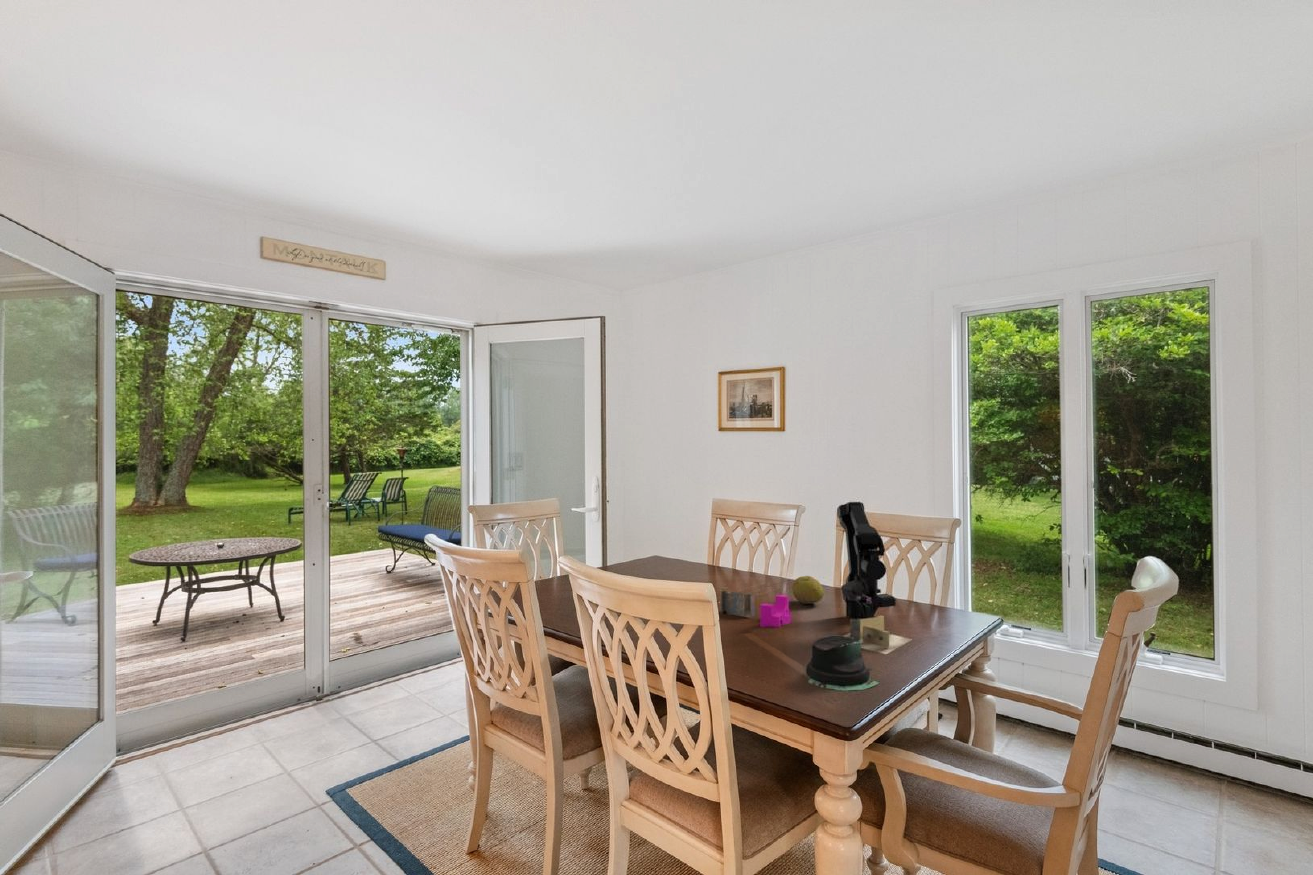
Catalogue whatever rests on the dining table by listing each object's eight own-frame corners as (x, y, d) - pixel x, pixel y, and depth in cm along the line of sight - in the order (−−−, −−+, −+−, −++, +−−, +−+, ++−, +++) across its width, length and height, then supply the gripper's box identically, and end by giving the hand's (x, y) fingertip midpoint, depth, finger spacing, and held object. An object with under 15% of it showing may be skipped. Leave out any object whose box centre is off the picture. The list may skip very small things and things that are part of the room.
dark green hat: (814, 656, 170) (813, 623, 170) (887, 671, 159) (887, 635, 159) (786, 680, 153) (786, 643, 153) (866, 698, 142) (866, 658, 142)
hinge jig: (833, 644, 178) (833, 621, 178) (861, 631, 190) (861, 609, 190) (885, 658, 167) (885, 633, 167) (912, 643, 178) (912, 620, 178)
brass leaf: (860, 637, 180) (860, 619, 180) (857, 635, 181) (857, 618, 181) (884, 633, 183) (883, 616, 183) (881, 632, 184) (881, 615, 184)
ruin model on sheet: (720, 614, 211) (720, 586, 211) (724, 612, 214) (724, 584, 214) (750, 619, 205) (750, 590, 205) (754, 617, 208) (754, 588, 208)
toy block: (779, 631, 192) (778, 607, 192) (760, 628, 195) (760, 604, 195) (795, 619, 204) (795, 597, 204) (778, 616, 207) (778, 594, 207)
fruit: (793, 607, 217) (792, 579, 217) (791, 599, 228) (791, 572, 228) (825, 609, 215) (825, 580, 215) (821, 600, 227) (821, 573, 227)
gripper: (827, 568, 193) (828, 617, 193) (865, 580, 176) (865, 634, 176) (856, 565, 197) (857, 613, 197) (896, 577, 179) (897, 630, 179)
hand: (868, 622), depth 187 cm, fingers closed
